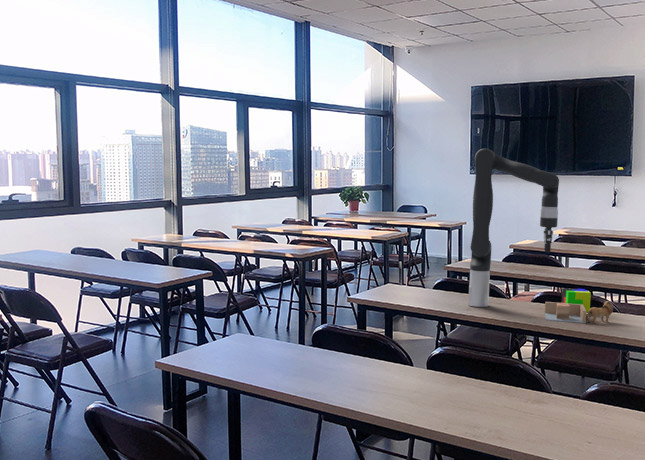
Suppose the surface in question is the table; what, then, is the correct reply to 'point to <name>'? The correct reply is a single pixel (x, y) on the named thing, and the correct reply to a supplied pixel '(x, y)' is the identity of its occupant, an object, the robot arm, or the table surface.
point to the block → (562, 311)
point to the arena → (575, 313)
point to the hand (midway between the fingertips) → (547, 251)
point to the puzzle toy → (576, 297)
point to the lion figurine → (601, 312)
